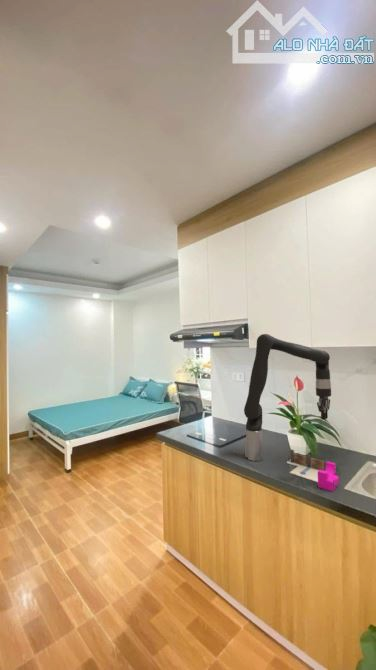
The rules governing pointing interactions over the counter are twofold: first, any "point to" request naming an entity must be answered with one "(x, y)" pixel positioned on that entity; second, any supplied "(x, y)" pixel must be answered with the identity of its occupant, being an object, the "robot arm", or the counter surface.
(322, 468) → the fence panel
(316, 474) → the card
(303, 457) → the fence fixed
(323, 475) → the toy block
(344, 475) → the counter surface
